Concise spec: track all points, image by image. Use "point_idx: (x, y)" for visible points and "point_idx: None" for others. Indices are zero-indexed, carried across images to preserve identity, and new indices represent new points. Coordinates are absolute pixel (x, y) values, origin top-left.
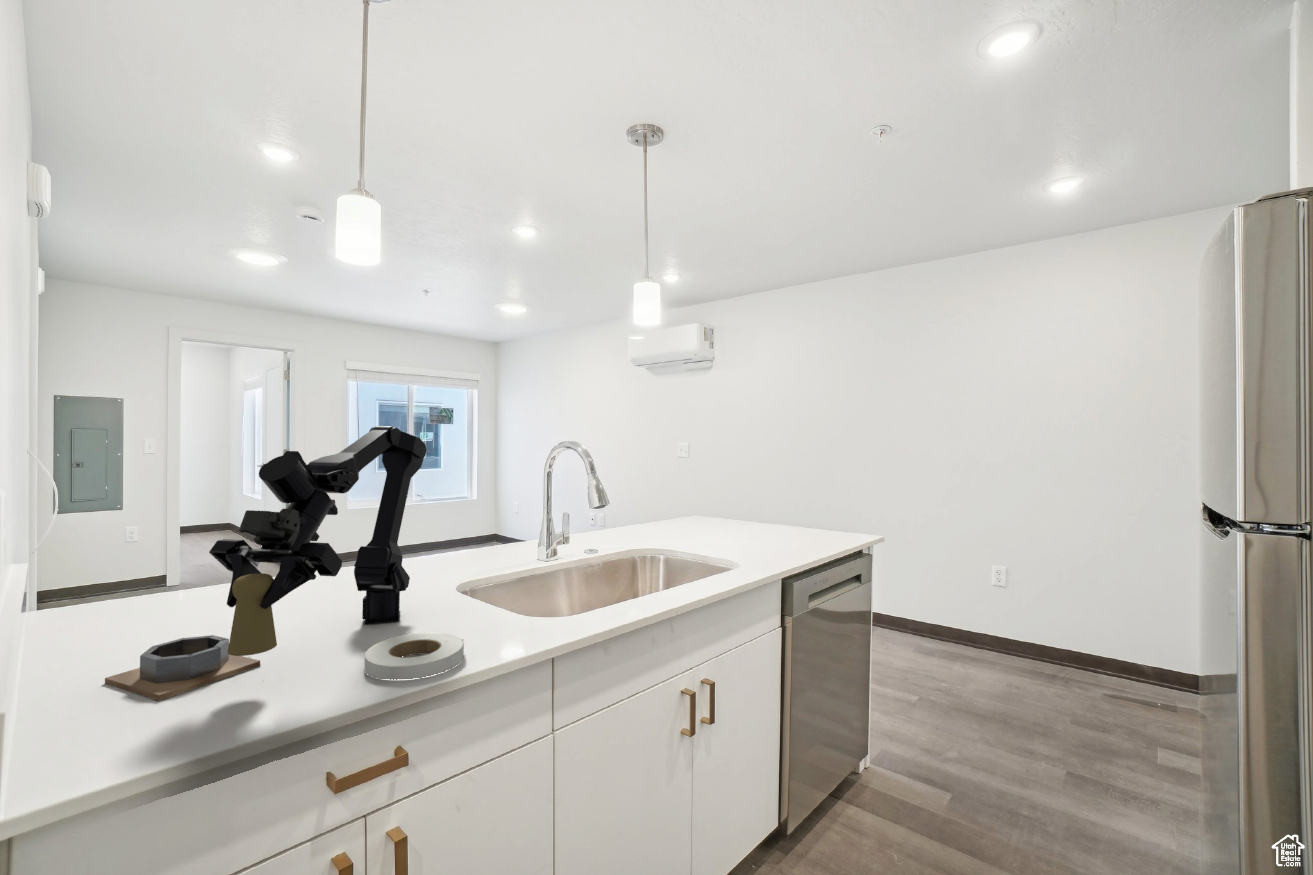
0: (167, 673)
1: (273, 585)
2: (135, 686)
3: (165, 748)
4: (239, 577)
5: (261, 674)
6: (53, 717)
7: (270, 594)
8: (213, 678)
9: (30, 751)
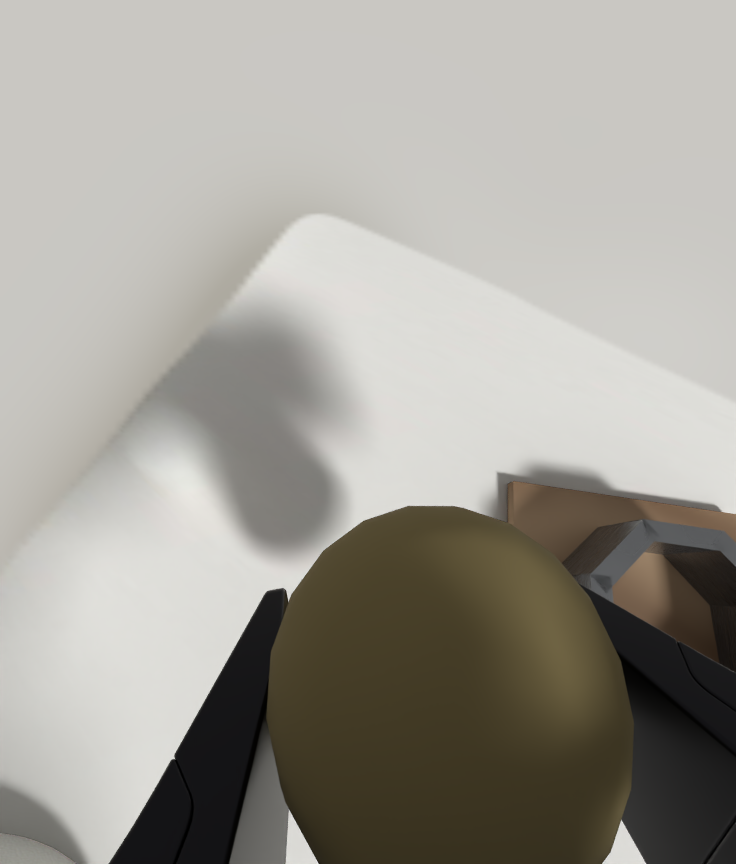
0: (597, 540)
1: (222, 726)
2: (618, 500)
3: (281, 349)
4: (555, 592)
5: None
6: (604, 380)
7: (231, 656)
8: None
9: (484, 299)
